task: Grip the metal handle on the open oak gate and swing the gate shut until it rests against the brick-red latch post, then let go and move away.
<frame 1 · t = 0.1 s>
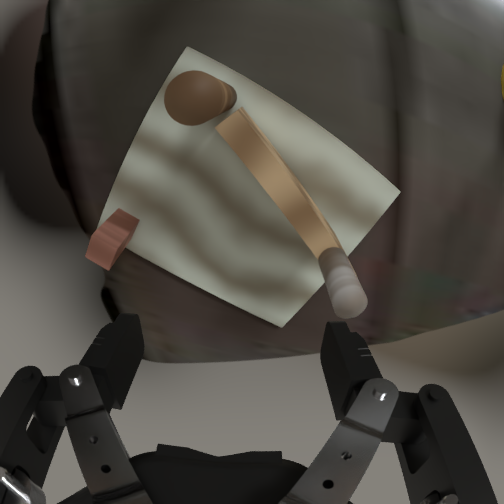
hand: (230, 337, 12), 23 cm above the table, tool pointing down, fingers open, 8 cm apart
gate frame: (222, 97, 27), on the table
oak gate: (294, 202, 24), point 9 cm above the table, hinge at 70.0°
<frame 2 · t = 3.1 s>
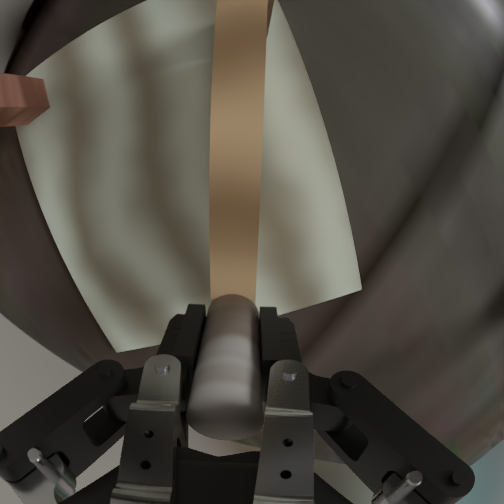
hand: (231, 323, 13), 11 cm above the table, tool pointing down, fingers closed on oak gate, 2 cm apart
gate frame: (246, 35, 18), on the table
oak gate: (236, 190, 13), point 9 cm above the table, hinge at 70.0°, touching gripper
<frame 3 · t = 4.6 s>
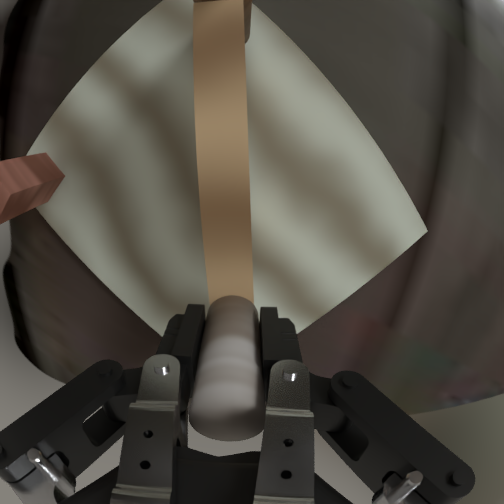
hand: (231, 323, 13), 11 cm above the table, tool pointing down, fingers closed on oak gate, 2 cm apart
gate frame: (229, 37, 18), on the table
oak gate: (226, 192, 13), point 9 cm above the table, hinge at 51.0°, touching gripper
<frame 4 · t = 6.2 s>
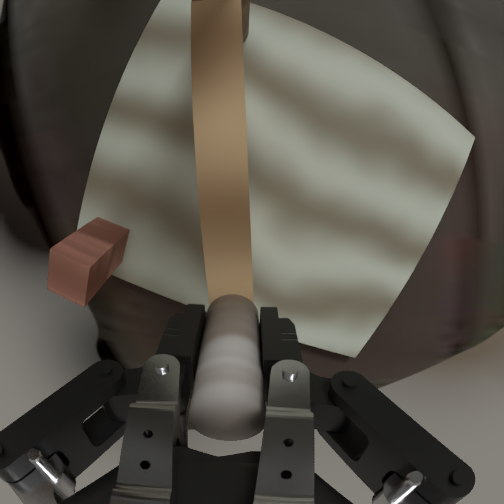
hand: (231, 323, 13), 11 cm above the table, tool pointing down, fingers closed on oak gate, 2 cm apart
gate frame: (227, 35, 17), on the table
oak gate: (226, 190, 13), point 9 cm above the table, hinge at 25.4°, touching gripper
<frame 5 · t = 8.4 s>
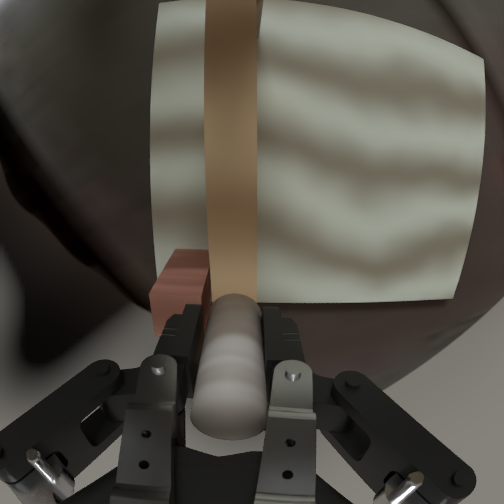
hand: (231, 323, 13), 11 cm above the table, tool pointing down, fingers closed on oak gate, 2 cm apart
gate frame: (238, 34, 17), on the table
oak gate: (233, 189, 13), point 9 cm above the table, hinge at 2.3°, touching gripper
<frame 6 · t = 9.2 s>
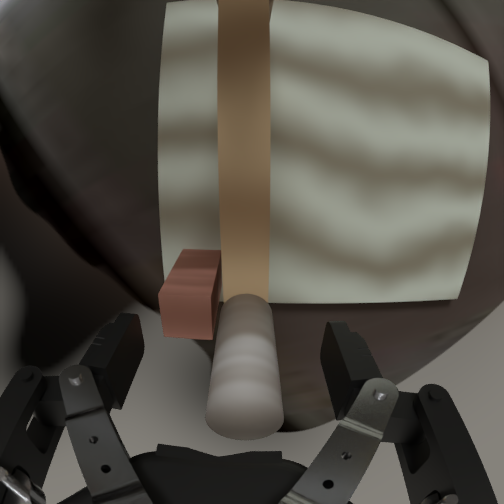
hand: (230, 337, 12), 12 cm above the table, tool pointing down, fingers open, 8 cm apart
gate frame: (246, 35, 18), on the table
oak gate: (245, 190, 13), point 9 cm above the table, hinge at 2.3°
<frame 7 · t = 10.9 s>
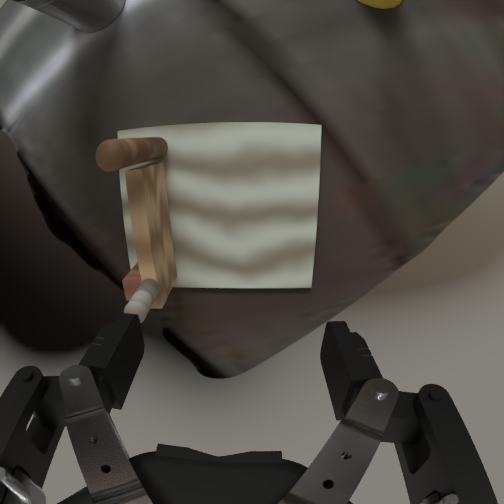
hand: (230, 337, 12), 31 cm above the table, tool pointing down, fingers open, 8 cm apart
gate frame: (159, 147, 38), on the table
oak gate: (146, 239, 34), point 9 cm above the table, hinge at 2.3°
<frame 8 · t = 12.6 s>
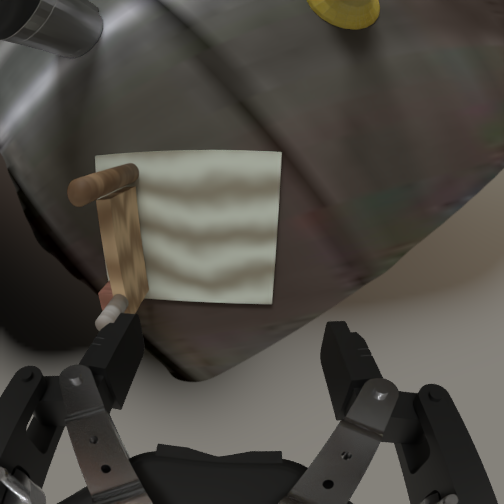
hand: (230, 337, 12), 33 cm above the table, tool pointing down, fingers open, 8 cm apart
gate frame: (132, 172, 41), on the table
oak gate: (117, 260, 37), point 9 cm above the table, hinge at 2.3°
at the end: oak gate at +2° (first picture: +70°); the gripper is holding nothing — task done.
